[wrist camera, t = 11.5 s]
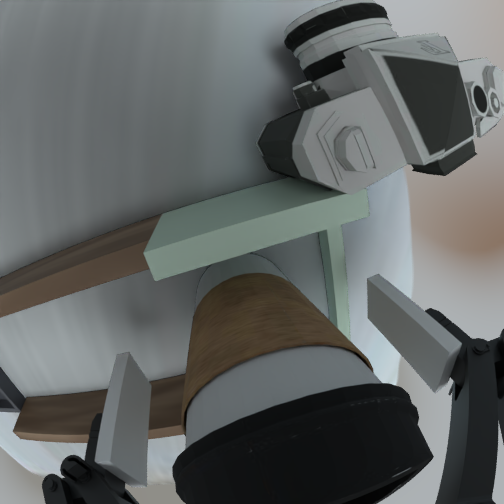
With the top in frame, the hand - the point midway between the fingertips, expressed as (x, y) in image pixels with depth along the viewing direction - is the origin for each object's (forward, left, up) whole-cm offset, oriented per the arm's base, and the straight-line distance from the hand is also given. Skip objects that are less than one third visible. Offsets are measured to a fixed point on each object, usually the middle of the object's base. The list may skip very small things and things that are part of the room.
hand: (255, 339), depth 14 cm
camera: (-12, +11, -5) cm, 17 cm away
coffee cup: (0, 0, -5) cm, 5 cm away
